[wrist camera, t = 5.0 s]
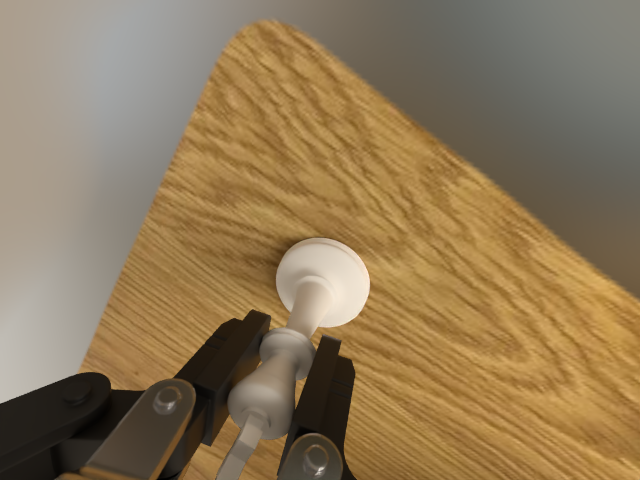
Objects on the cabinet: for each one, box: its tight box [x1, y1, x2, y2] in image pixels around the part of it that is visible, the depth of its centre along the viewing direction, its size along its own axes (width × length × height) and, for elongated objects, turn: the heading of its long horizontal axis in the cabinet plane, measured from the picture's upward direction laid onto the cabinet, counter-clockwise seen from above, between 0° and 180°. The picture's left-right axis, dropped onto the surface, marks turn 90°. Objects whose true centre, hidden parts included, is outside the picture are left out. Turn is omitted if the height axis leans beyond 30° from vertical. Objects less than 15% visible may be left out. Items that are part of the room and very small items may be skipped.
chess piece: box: [215, 238, 370, 480], centre depth 11 cm, size 5×5×10 cm
